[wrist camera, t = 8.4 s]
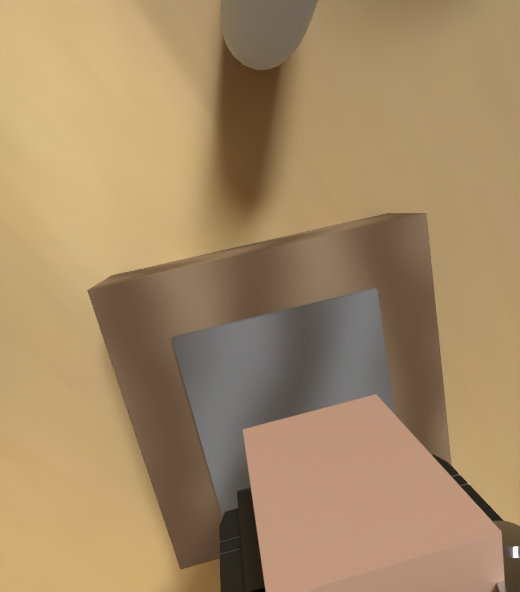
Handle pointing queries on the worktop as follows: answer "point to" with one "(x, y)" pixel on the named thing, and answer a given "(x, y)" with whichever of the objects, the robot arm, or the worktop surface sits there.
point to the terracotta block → (363, 508)
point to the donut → (264, 29)
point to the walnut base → (269, 354)
